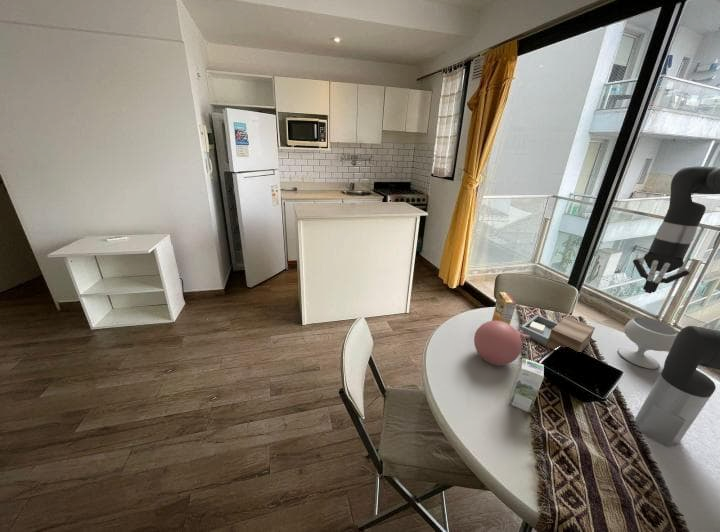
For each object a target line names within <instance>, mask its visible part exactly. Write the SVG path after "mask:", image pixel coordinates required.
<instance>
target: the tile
mask: <svg viewBox="0 0 720 532" xmlns="http://www.w3.org/2000/svg"><path fill="white" fill-rule="evenodd" d="M529 329H531V330H533V331H535V332H538V333H540V334H542V333H543V331H544V329H545V326H544V325H542V324H539V323H536V322H533V321H532V323H531V324H530V326H529Z"/></svg>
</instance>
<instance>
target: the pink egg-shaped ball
mask: <svg viewBox="0 0 720 532" xmlns="http://www.w3.org/2000/svg"><path fill="white" fill-rule="evenodd" d="M475 331H476V332H475V333H474V338H473V343H474V347H475V350H476V352H477V354H478V355H479V356H480V357H481V358H482V359H483V360H484V361H486V362H487V363H489V364H492V365H495V366H505V365H510V364H511V363H513V362H515V360H517V359H518V357H519V356H520V354H521V351H522V347H523V343H524V342H525V340H527V339H528V340H529V339H530V336H529V335H525V334H524V333H523V331H522V330H520V329H518V330H516V328H515V327H513V326H512V325H511V324H510V325H509V324H507V323H505V322H502V321H492V320H490V321H487V322H484V323H482V324H481V325H480V326H479V327H478V328H477V330H475Z"/></svg>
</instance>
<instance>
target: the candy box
mask: <svg viewBox="0 0 720 532" xmlns="http://www.w3.org/2000/svg"><path fill="white" fill-rule="evenodd" d="M495 303H496V304H495V308H494V311H493V315H492V317H491V321H502V322H505V323H507V324H509V325H511V322H512V318H513V316H514V312H515V309H516V305H517V302H516V301H515V300H514V298H513V297H512V295H510V293H509V292H504V291H503V292H501V291H499V292H498V296H497V299H496V302H495Z"/></svg>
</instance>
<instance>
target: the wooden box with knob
mask: <svg viewBox="0 0 720 532" xmlns="http://www.w3.org/2000/svg"><path fill="white" fill-rule="evenodd" d="M557 323H558V324H557V325H556V326H555V327H554V328H553V329H552V330H551V333H550V336H549V339H548V341H547V344H546V346H545V347H547V348H549V349H551V350H554V349H555V348H557V347H559V346H562V347H563V348H564V347H569V348H571V349H573V350H575V351H577V352H581V353H582V352H584V350H585V349H586V348H587V346H588V345H589V342H590V341H591V338H592V336H593V333H594V331H595V329H596V327H594V326H593V325H590V324H587V323H584V322H582V321H579V320H577V319H574V318H572V317H569V316H565V317H564V318H563V319H561V321H559V322H557ZM554 351H555V350H554Z"/></svg>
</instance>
